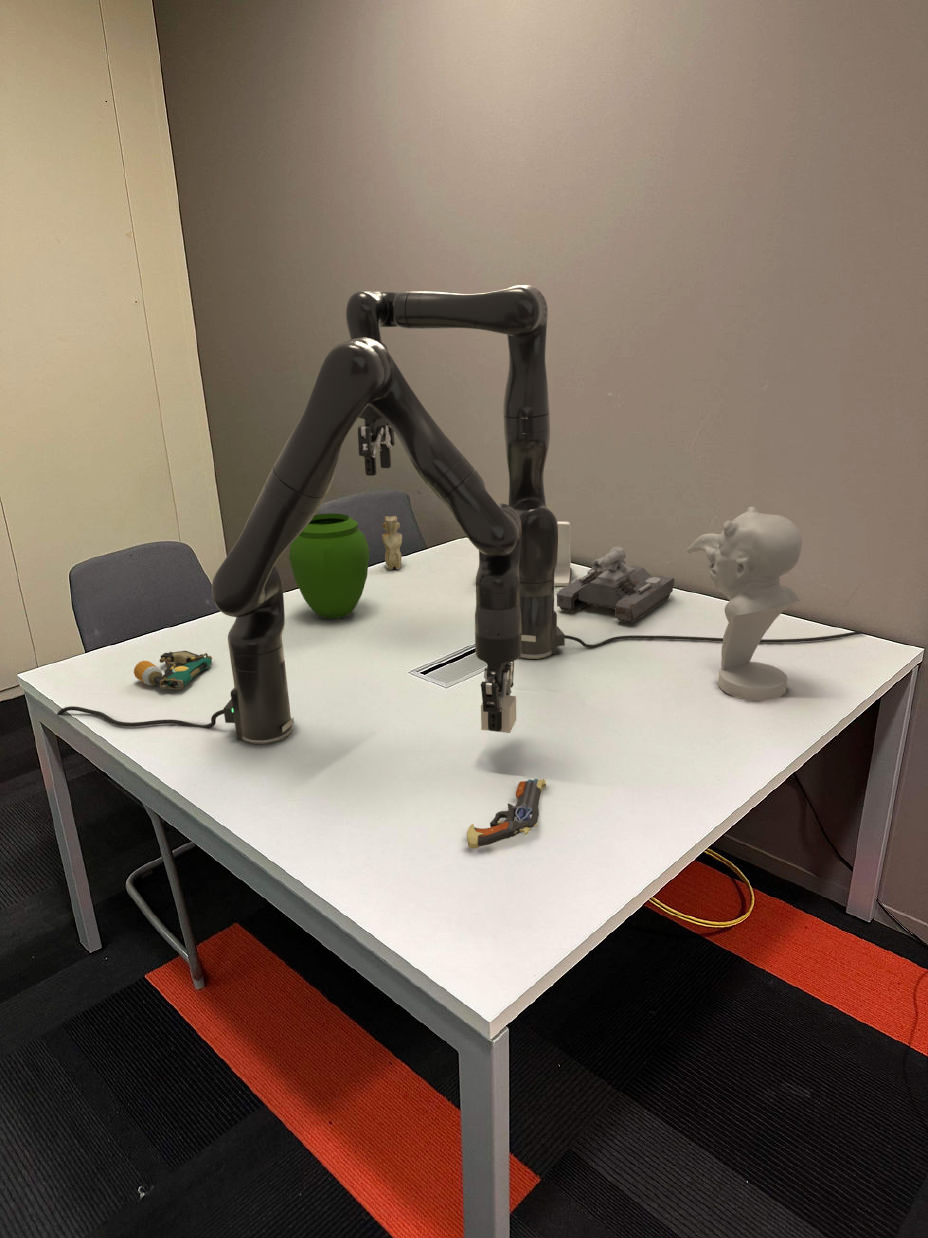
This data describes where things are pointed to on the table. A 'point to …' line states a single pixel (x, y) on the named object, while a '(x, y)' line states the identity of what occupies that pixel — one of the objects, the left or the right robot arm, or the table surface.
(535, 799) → the toy gun
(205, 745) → the table surface
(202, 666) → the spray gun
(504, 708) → the beige cube
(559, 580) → the tablet stand
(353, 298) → the right robot arm
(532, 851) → the table surface
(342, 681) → the table surface
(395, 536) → the sculpture
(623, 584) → the toy
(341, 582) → the vase
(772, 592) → the bust sculpture
